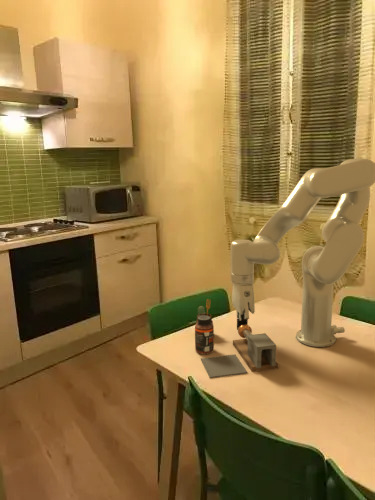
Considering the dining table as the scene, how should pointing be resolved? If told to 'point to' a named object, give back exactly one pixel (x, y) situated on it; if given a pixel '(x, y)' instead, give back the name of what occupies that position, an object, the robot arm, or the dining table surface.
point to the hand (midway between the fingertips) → (242, 330)
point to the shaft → (246, 333)
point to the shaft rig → (257, 352)
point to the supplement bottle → (204, 335)
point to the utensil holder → (204, 311)
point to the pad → (223, 366)
